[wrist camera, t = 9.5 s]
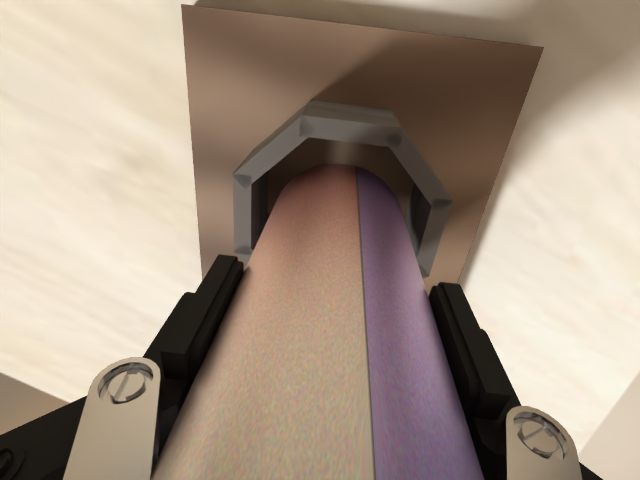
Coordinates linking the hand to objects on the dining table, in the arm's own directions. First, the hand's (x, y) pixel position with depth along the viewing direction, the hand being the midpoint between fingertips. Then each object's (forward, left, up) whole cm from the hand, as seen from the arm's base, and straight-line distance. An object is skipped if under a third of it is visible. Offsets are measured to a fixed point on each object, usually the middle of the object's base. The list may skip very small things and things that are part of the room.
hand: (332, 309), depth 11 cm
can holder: (0, 0, -11) cm, 11 cm away
